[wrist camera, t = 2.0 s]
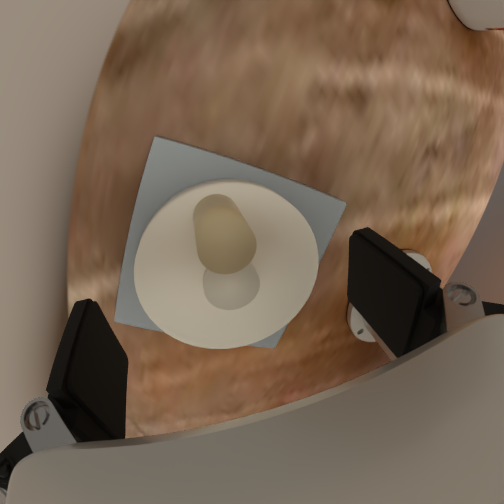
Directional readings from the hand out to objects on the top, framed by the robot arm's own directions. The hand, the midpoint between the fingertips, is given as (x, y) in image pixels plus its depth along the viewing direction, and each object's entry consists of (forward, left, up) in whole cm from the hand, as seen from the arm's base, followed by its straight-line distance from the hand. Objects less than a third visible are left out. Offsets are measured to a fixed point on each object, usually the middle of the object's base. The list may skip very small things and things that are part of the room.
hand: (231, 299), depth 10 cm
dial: (-3, +4, -12) cm, 13 cm away
